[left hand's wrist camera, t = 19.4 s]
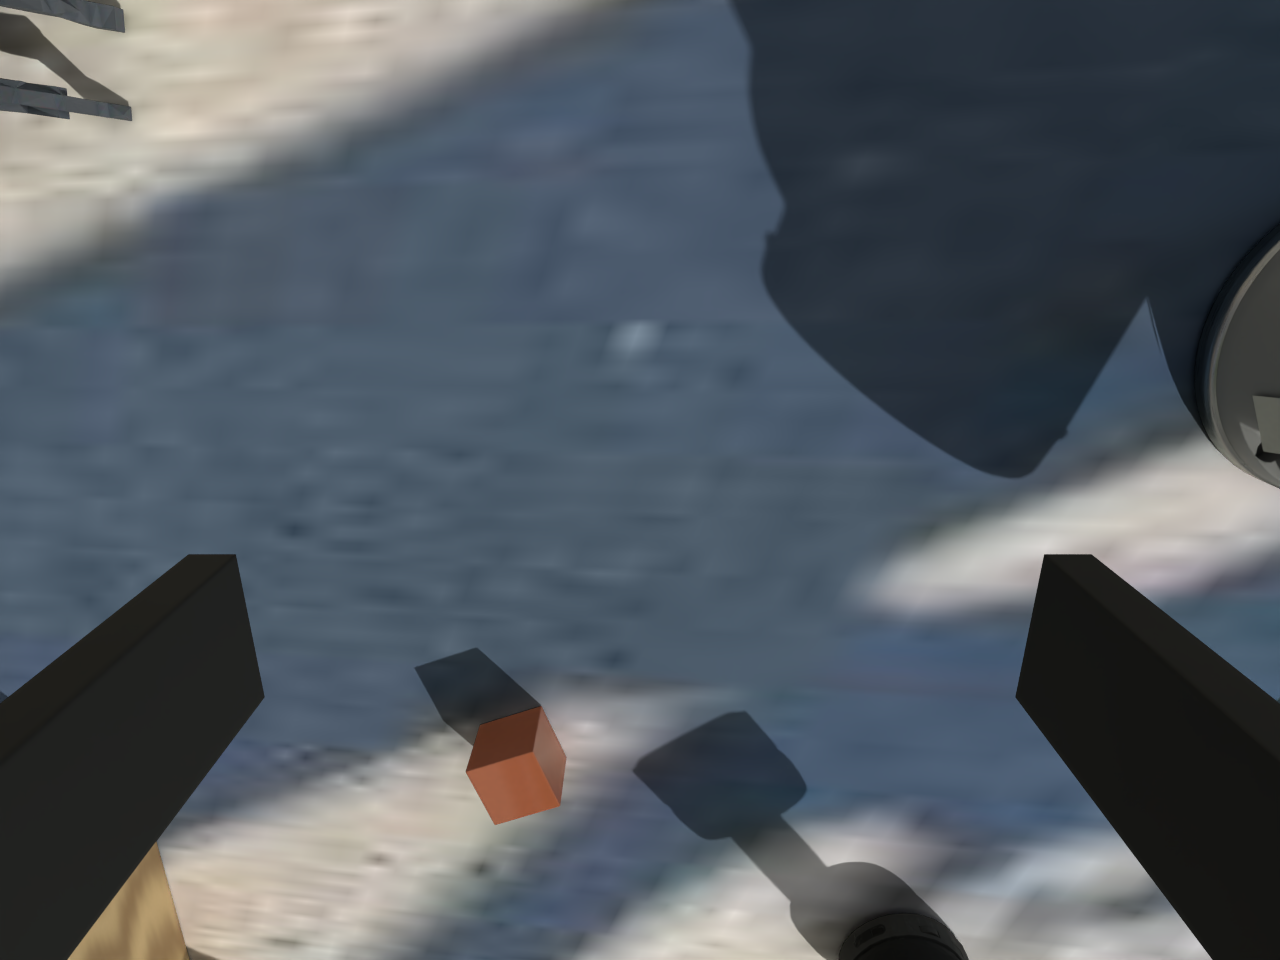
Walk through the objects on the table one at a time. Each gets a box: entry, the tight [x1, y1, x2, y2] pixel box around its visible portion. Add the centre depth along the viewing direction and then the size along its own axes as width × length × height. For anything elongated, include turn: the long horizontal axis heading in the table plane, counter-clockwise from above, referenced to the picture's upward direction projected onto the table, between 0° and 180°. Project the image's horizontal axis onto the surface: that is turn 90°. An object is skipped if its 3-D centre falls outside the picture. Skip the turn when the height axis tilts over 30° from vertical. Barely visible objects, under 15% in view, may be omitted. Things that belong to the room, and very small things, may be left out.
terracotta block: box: [466, 706, 566, 825], centre depth 44 cm, size 4×4×4 cm
